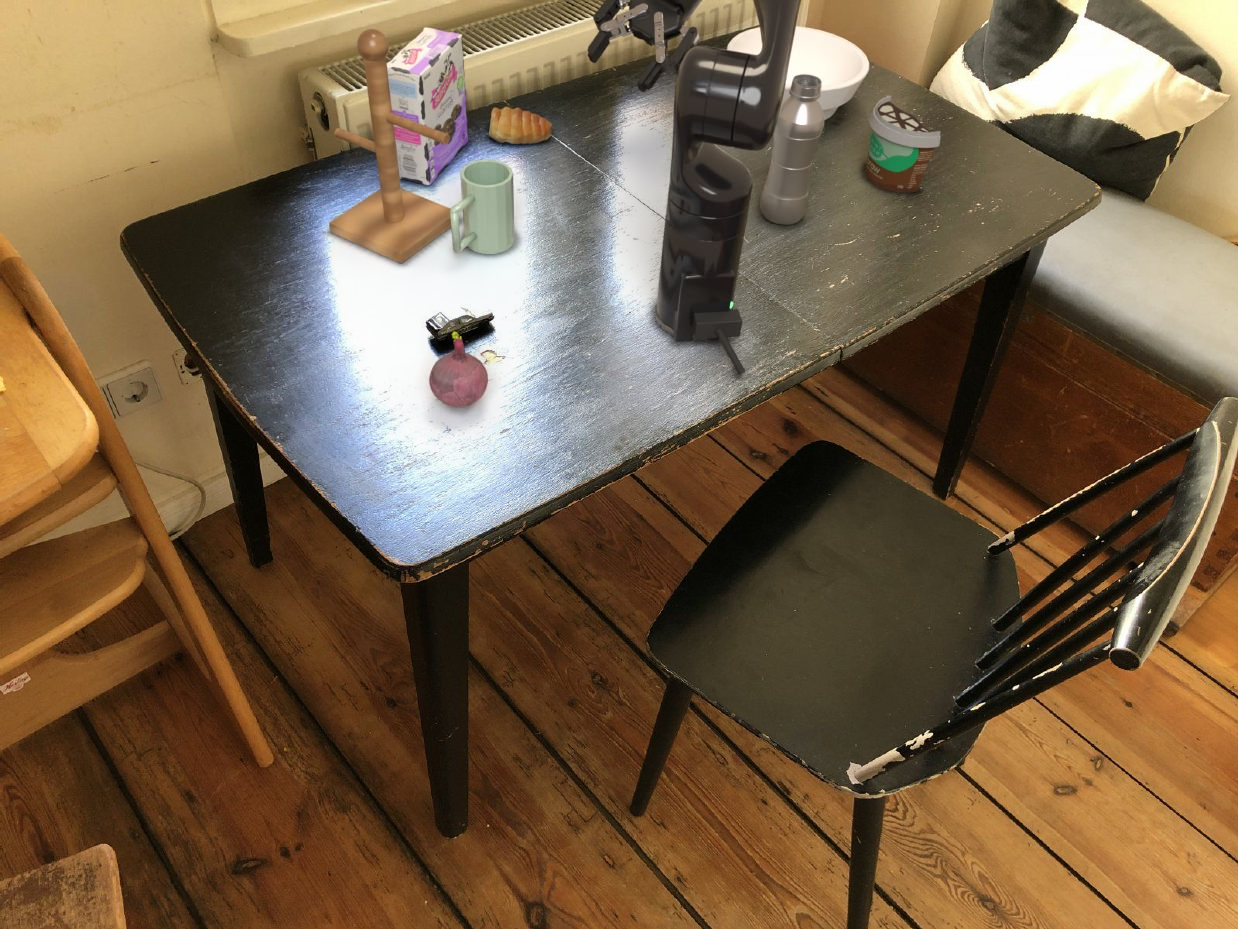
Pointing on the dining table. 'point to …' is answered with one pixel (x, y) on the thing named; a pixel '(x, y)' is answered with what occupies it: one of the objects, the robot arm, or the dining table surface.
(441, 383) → the vegetable
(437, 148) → the candy box
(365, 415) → the dining table surface
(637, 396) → the dining table surface
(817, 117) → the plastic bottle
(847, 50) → the bowl
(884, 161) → the food container
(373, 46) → the mug tree
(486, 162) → the mug
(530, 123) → the pastry
